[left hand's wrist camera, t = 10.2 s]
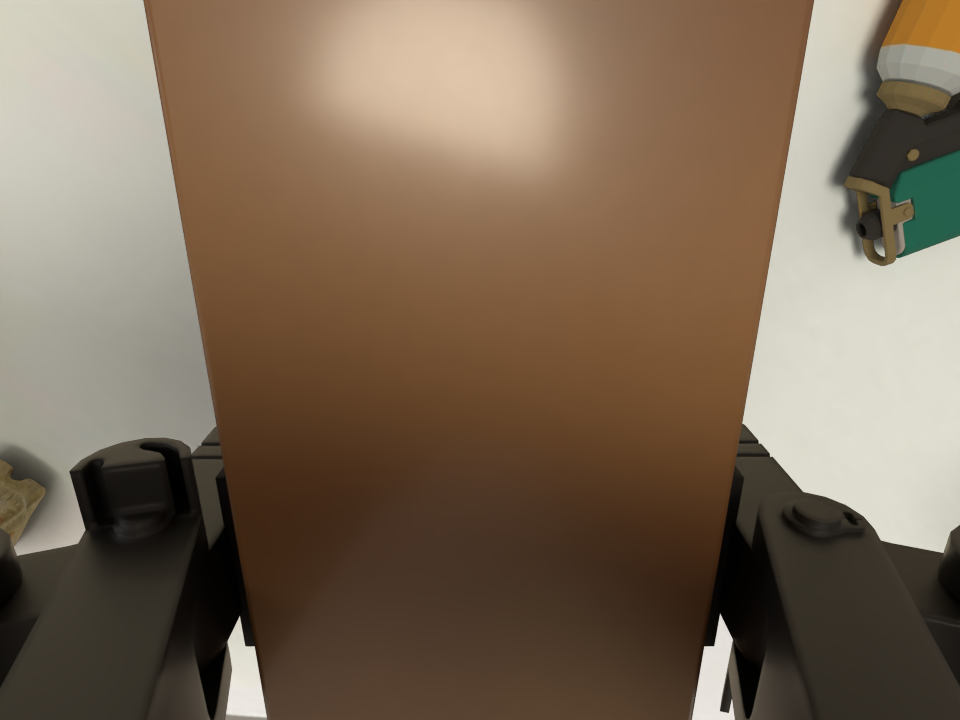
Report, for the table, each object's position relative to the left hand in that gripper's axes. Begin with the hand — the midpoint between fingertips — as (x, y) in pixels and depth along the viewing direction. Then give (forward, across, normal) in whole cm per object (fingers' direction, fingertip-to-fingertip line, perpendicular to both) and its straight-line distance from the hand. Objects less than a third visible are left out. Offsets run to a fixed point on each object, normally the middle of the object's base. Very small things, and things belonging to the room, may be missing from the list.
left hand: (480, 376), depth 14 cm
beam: (+1, 0, -20) cm, 20 cm away
